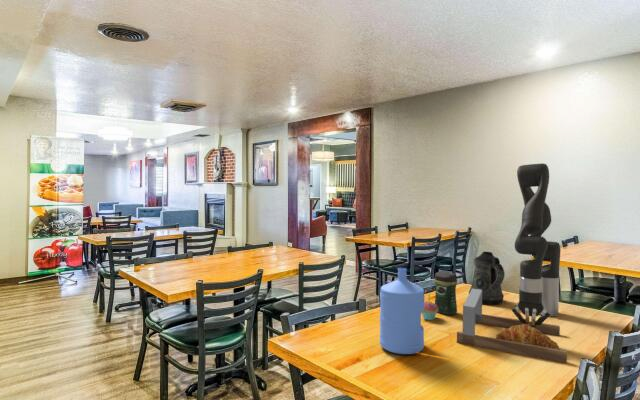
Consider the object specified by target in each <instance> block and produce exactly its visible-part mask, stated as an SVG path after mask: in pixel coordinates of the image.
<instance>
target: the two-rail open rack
mask: <svg viewBox="0 0 640 400" xmlns="http://www.w3.org/2000/svg"><path fill="white" fill-rule="evenodd" d="M529 321H530V324H531V320H529ZM476 323H477V324H483V325H490V326H496V327H503V328H506V329H509V328H510V327H511V326H516V325H522V324H525V323H521V322H520V320H519V319H518V318H509V317H502V316H497V315H489V314H483V304H482V290H480V289H472V290H471V292H470V294H469V293H468V296H467V297H466V299H465V302H464V304H462V332H460V331H457V333H456V343H458V344H463V345H469V346H473V347H479V348H485V349H489V350H494V351H500V352H505V353H510V354H516V355H517V354H518V355H521V356H527V357H531V358H537V359H543V360H548V361H554V362H558V363H564V364H567V363H568V354H567V353H568V352H567V350H563V349H561V350H559V349H553V348H548V347H542V346H536V345H530V344H525V343H519V342H513V341H507V340H502V339H496V337H490V336H483V335H478V334H476ZM535 329H537V330H539V331H540V332H541V333H542V334H545V335H552V336H557V337H560V335H561V331H560V330H561V327H560V325H556V324H550V323H544V322H543V323H542V324H541V325H536V326H535Z"/></svg>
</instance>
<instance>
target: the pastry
mask: <svg viewBox="0 0 640 400" xmlns="http://www.w3.org/2000/svg"><path fill="white" fill-rule="evenodd" d="M495 336H496V337H495V338H496V339H502V340H507V341H513V342H519V343H525V344H530V345H536V346H542V347H548V348H553V349H559V350H562V349H561V347H560V346H559V344H558V343H557V342H556V341H554V340H553V339H551V338H550V337H549V335H548V334H545V333H541V332H540V331H539V330H537V329H535V328H533V327H531V326H530V325H529V324H528V325H527V324H522V325H516V326H511V327H510V328H504V329H503V330H502V331H501V332H499V333H498V334H497V335H495Z"/></svg>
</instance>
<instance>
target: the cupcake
mask: <svg viewBox="0 0 640 400" xmlns="http://www.w3.org/2000/svg"><path fill="white" fill-rule="evenodd" d="M430 297H431V296H430V293H428V294H427V301H424V310H423V311H422V312H421V316H422V319H424V320H427V321H433V320H435V318H436V315H437V313H438V311H439V309H438V306H437V305H436V304H435V302H431V301H430Z"/></svg>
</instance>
